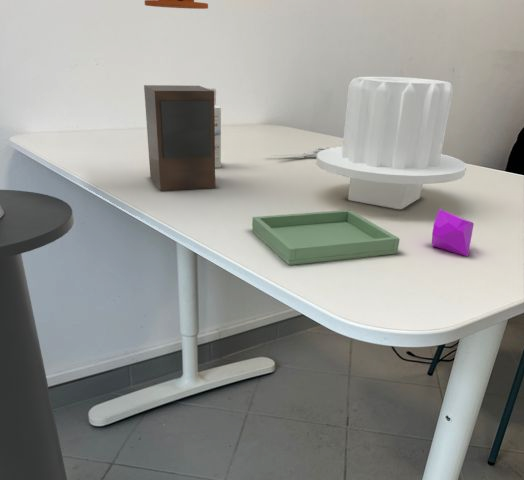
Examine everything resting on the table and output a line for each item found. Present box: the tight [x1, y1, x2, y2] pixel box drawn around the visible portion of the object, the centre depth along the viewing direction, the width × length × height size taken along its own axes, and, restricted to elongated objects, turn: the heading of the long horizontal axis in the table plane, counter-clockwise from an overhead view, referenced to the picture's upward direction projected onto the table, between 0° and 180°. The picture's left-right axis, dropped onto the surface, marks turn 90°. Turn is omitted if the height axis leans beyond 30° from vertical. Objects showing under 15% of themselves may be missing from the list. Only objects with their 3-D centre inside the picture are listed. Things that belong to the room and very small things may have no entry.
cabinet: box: [143, 84, 216, 192], centre depth 96 cm, size 10×10×16 cm
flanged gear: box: [315, 75, 467, 210], centre depth 90 cm, size 25×25×19 cm
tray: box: [251, 209, 400, 266], centre depth 73 cm, size 16×14×2 cm
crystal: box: [431, 208, 474, 257], centre depth 72 cm, size 5×5×5 cm
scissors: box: [272, 146, 331, 160], centre depth 125 cm, size 11×1×20 cm
